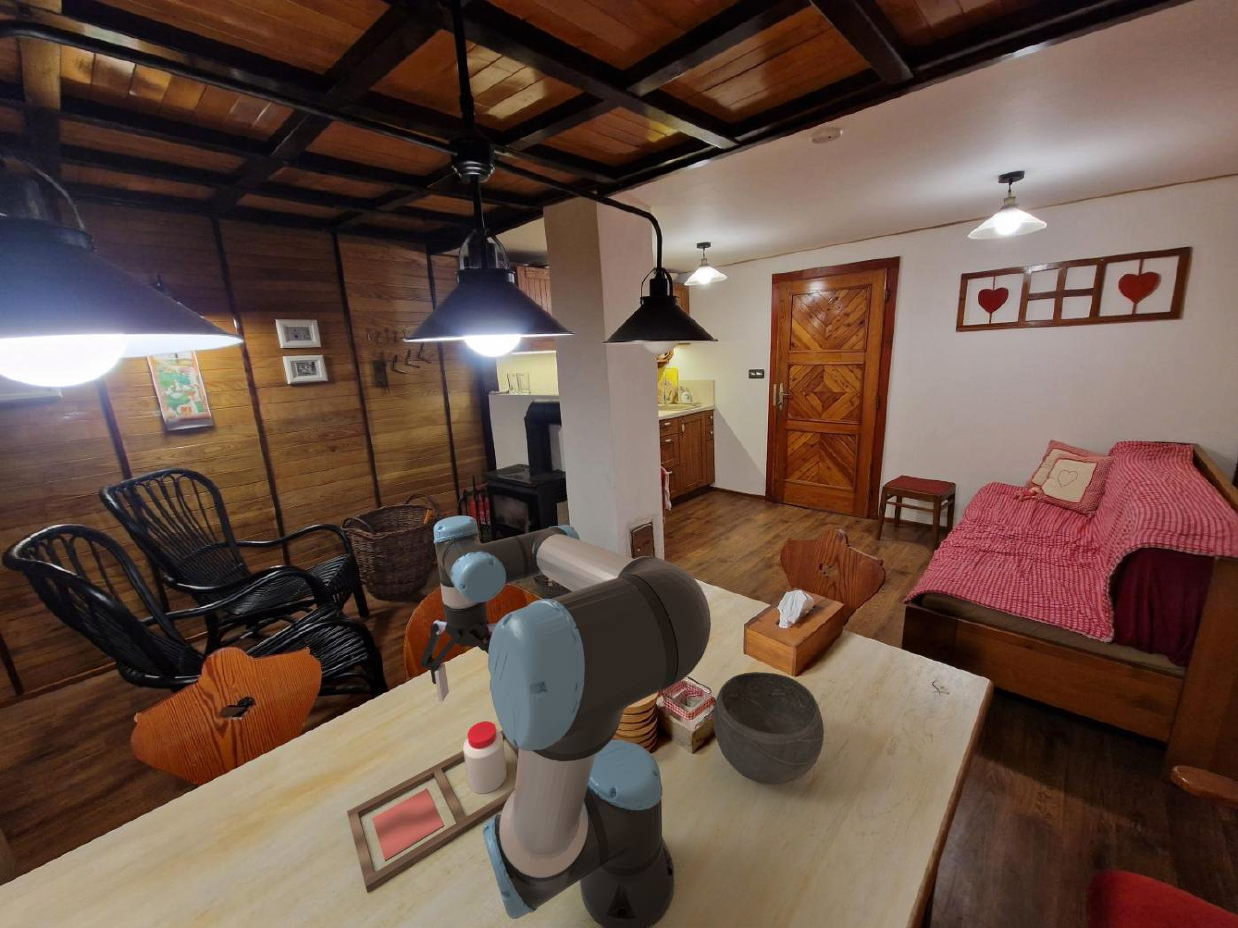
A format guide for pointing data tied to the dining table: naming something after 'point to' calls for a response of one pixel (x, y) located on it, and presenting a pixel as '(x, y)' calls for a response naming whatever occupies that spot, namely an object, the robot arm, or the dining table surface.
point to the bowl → (768, 727)
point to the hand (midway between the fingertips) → (476, 698)
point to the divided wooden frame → (414, 821)
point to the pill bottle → (484, 758)
